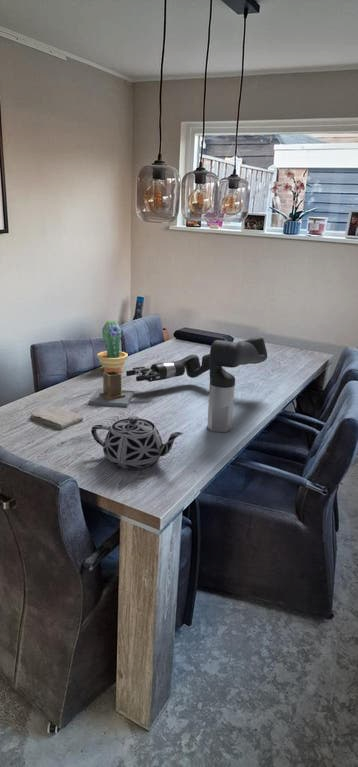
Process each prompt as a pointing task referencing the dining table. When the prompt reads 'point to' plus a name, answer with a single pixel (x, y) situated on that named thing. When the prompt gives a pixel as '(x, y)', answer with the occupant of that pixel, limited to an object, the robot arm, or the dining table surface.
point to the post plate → (119, 402)
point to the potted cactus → (112, 348)
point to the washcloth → (56, 417)
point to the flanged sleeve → (112, 385)
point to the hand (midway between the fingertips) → (131, 376)
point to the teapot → (133, 443)
